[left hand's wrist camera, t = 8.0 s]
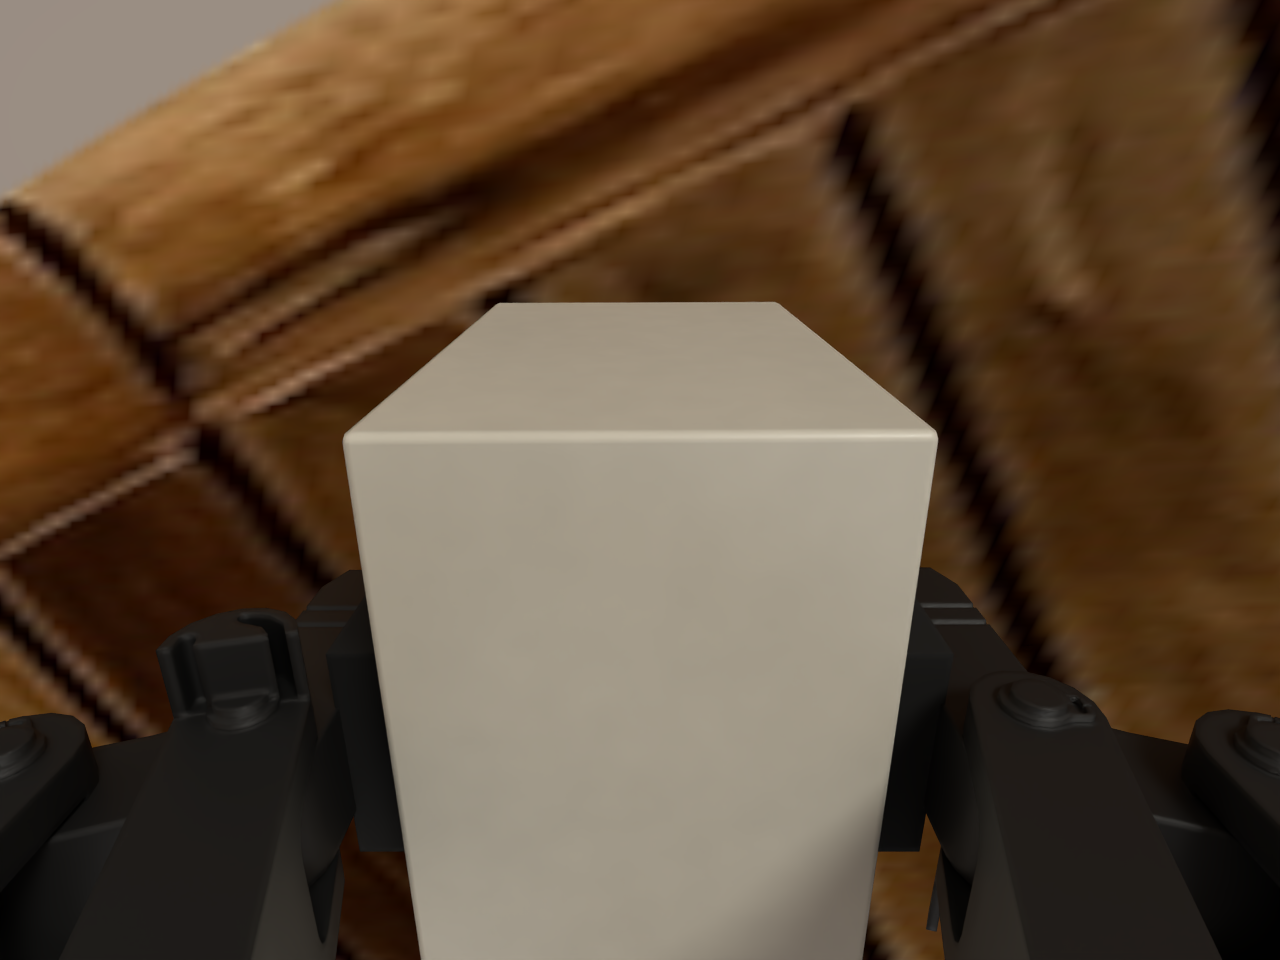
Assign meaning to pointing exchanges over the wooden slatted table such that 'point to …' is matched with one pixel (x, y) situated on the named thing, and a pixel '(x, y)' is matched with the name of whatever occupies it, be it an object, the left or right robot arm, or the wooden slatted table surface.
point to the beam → (640, 630)
